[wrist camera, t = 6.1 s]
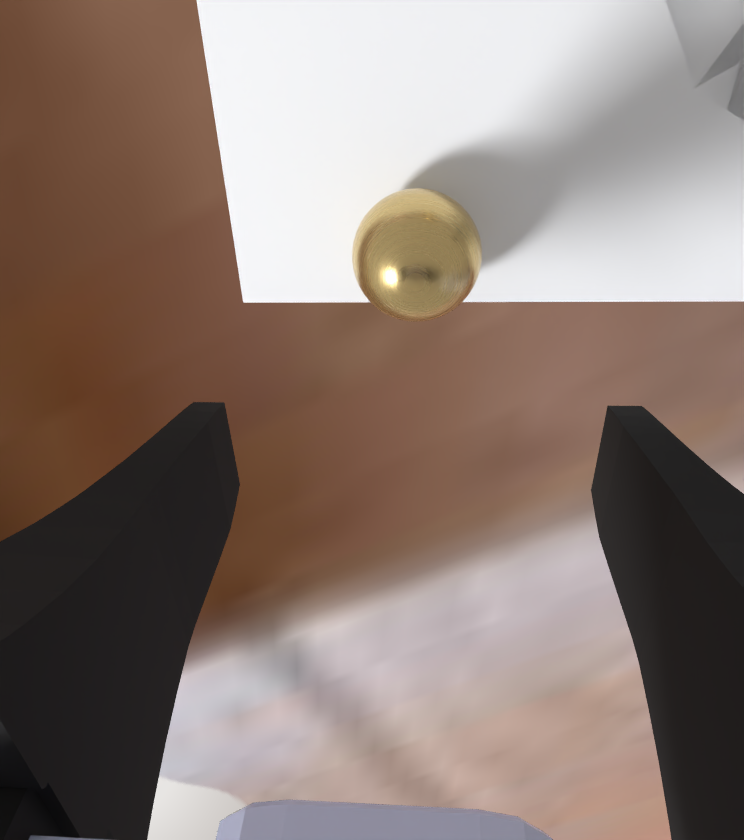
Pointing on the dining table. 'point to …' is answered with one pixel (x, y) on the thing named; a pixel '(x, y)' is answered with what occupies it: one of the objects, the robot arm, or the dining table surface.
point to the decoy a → (416, 254)
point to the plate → (487, 140)
